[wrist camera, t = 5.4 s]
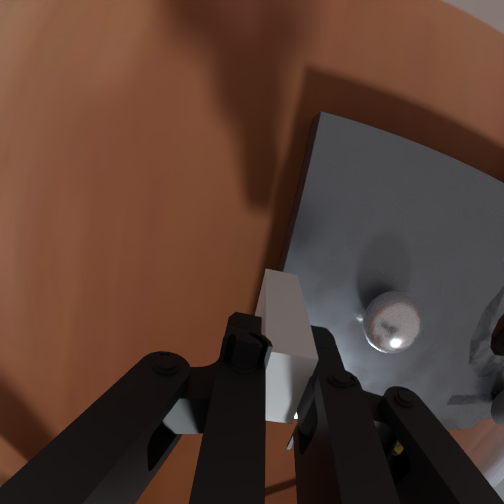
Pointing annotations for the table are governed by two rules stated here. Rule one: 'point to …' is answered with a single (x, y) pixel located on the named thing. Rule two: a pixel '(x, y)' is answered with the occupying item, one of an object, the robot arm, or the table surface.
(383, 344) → the steel ball
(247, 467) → the robot arm
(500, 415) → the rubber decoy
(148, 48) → the table surface
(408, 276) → the grey flat slab
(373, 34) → the table surface
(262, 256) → the table surface
